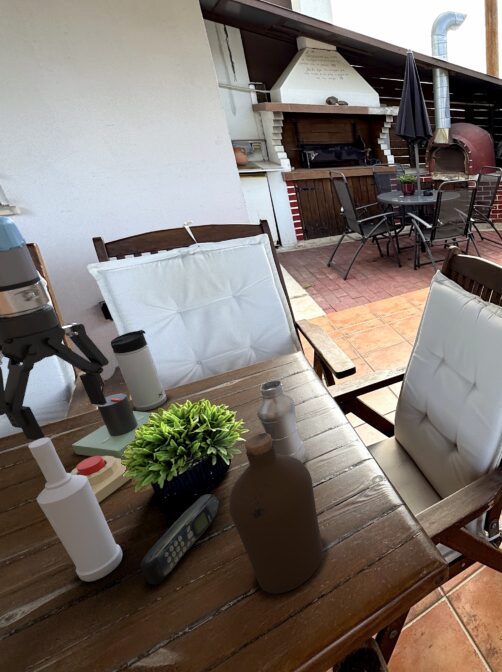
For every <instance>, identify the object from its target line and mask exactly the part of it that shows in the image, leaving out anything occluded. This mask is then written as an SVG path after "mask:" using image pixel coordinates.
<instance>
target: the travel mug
mask: <svg viewBox="0 0 502 672" xmlns="http://www.w3.org/2000/svg"><path fill="white" fill-rule="evenodd" d="M145 334H146V331H145V330H144V329H139V330H134V331H129V332H126V333H123V334H120V335H118V336H116V337H115V338H114V339H112V340H111V341H110V347H111V349H112V352H113V355H114V358H115V360H116V362H117V366H118V367H119V370H120V373H121V374H122V375H121V376H122V378H123V380H124V383H125V386H126V389H127V390H128V393H129V396H130V398H131V401H132V404H133V406H134V408H135V409H134V410H135V411H138V412H147V411H150V410H153V409H157V408H158V407H160V406H162V405H164V404H165V402H166V401H167V399H168V398H167V395H166V392H165V390H164V386H163V384H162V380H161V377H160V375H159V372H158V369H157V367H156V363H155V361H154V358H153V355H152V353H151V349H150V346H149V345H148V342H147V340H146V336H145Z"/></svg>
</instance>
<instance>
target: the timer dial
mask: <svg viewBox="0 0 502 672" xmlns="http://www.w3.org/2000/svg"><path fill="white" fill-rule="evenodd" d="M105 399H106V401H107V403H106V404H104V405H96V406H97V409H98V411H99V413H100V415H101V418H102V421H103V423H104V425H106V427H107V430H108V432H109V434H110V435H111V436H120V435H123V434H126V433H128V432H130V431H132V430H134V429H135V428H136V427H137V425H138V423H137V421H136V418H135V416H134V413H133V411H134V410H133V408H132V406H131V403H130V400H129V399H128V395H127V394H126V393H115V394H111V395H108V396H106V397H105Z"/></svg>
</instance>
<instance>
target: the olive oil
mask: <svg viewBox="0 0 502 672" xmlns="http://www.w3.org/2000/svg"><path fill="white" fill-rule="evenodd" d="M244 448H245V450H246V451H245V455H246V457H247V460H248V464H249V465H248V466H247V467H246V468H245V470H244V471H243V472H241V474H240V475H239V477H238V478H237V479H236V480H235V482H234V484H233V486H232V489H231V491H230V496H229V503H228V504H229V505H228V507H229V514H230V517H231V520H232V522H233V524H234V526H235V528H236V531H237V533H238V535H239V538H240V540H241V543H242V545H243V547H244V550H245V552H246V554H247V557H248V560H249V562H250V564H251V567H252V570H253V572H254V575H255V577H256V580H257V583H258V585H259V587H260V588H261V589H262V590H263V591H264V592H266V593H269V594H274V595H276V594H277V595H279V594H284V593H288V592H290V591H293V590H295V589H297V588H298V587H300V586H302V585H303V584H305V583H306V582H307V581H308V580H310V578H311V577H312V576H313V575H314V574H315V573H316V571H317V569H318V568H319V566H320V564H321V562H322V560H323V556H324V547H323V542H322V536H321V531H320V530H321V529H320V526H319V519H318V513H317V505H316V500H315V493H314V484H313V480H312V475H311V472H310V471H309V469H308V467H306V465H305V464H304V463H302V462H301V461H300V460H298V459H296V458H294V457H291V456H286V455H280V454H276V451H275V446H274V442H273V441H272V438H271V435H270V434H268V433H266V432H261V433H258V434H255V435H253V436H251V437H250V438H248V439H247V440H246V442H245V444H244Z"/></svg>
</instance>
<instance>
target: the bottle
mask: <svg viewBox="0 0 502 672" xmlns="http://www.w3.org/2000/svg"><path fill="white" fill-rule="evenodd" d="M28 449H29V451H30V452H31V455H32V457H33V458H34V459H35V461H36V463H37V465H38V467H39V469H40V470H41V473H42V474H43V477H44V479H45V480H46V482H45V484H44V488H43V490H42V491H40V493H39V494H38V495H37V498H36V502H37V503H38V505H39V507H40V509H41V510H42V512H43V513H44V515H45V517H46V519H47V521H48V522H49V524H50V525H51V527H52V529H53V531H54V532H55V534H56V536H57V538H58V539H59V540H60V542H61V544H62V545H63V547H64V549H65V550H66V552H67V554H68V556H69V557H70V559H71V560H72V562H73V564H74V565H75V567H76V568H75V573H76V575H77V576H78V578H79V579H80V580H81V581H84V582H95V581H97V580H100V579H102V578H104V577H105V576H107V575H109V574H110V573H112V571H114V570H115V569H116V568H118V566H119V565H120V563H122V562H121V561H122V560H123V550H122V548H121V546H120V545H119V544H117V543H116V541H115V538H114V536H113V534H112V532H111V530H110V527H109V525H108V523H107V520H106V517H105V516H104V513H103V511H102V509H101V506H100V504H99V503H98V501H97V499H96V497H95V494H94V492H93V490H92V488H91V485H90V483H89V481H88V478H87V477H86V476H83V475H71V472H67V471H66V469H65V467H64V465H63V463H62V461H61V459H60V456H59V455H58V453H57V452H56V451H57V450H56V448H55V446H54V443H53V442H52V439H51V437H46V436H45V438H41V439H38V440H33V441H32V442H30V443H29V444H28Z"/></svg>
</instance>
